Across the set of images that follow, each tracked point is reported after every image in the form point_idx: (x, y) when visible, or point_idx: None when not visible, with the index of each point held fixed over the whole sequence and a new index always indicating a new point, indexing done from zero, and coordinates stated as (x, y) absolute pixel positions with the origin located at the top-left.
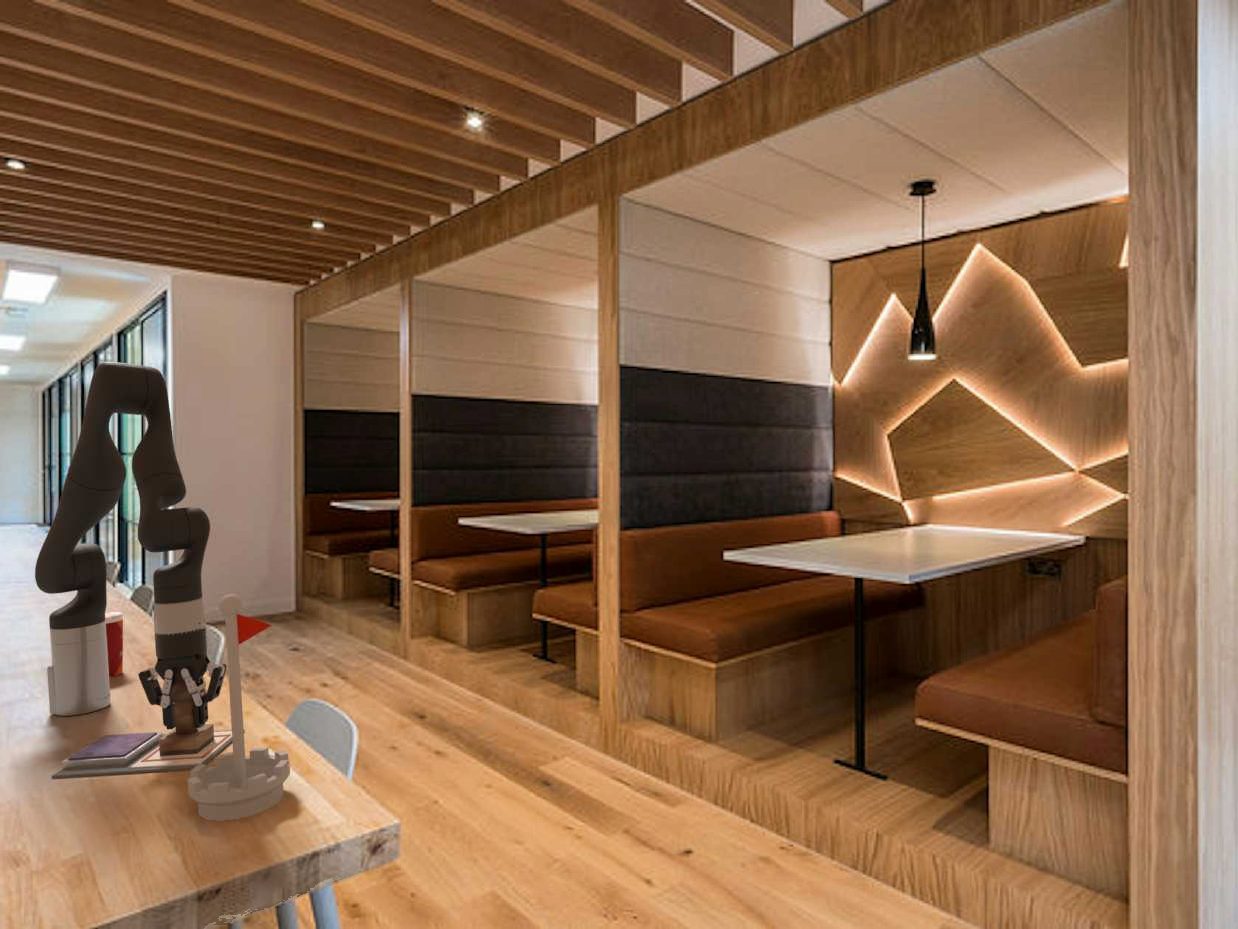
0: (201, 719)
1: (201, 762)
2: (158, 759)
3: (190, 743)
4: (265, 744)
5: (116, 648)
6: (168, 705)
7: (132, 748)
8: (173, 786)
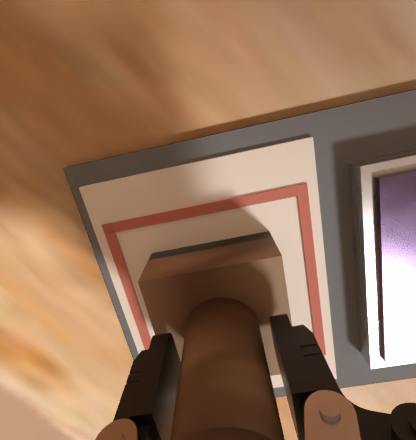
0: (142, 365)
1: (82, 194)
2: (249, 201)
3: (163, 267)
4: (22, 339)
5: None
6: (305, 413)
7: (383, 235)
8: (44, 22)
